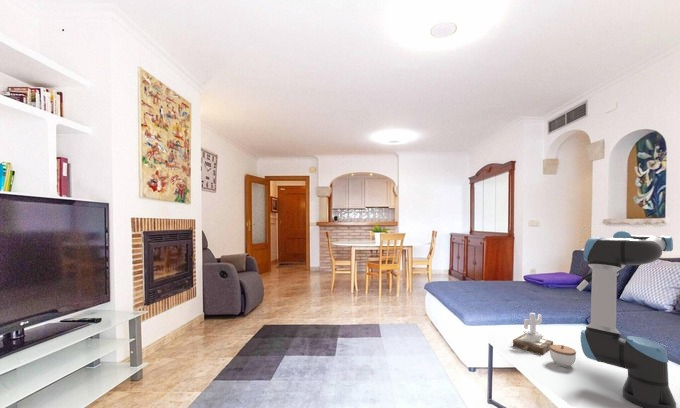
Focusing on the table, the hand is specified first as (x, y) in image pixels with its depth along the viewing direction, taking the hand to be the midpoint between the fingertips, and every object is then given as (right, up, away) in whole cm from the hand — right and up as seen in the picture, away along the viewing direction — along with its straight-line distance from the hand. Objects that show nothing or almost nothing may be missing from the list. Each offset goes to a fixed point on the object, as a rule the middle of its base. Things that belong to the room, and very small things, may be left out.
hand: (587, 292), depth 174 cm
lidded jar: (-25, -32, -16) cm, 44 cm away
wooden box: (-28, -33, +5) cm, 43 cm away
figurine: (-26, -29, +6) cm, 40 cm away
